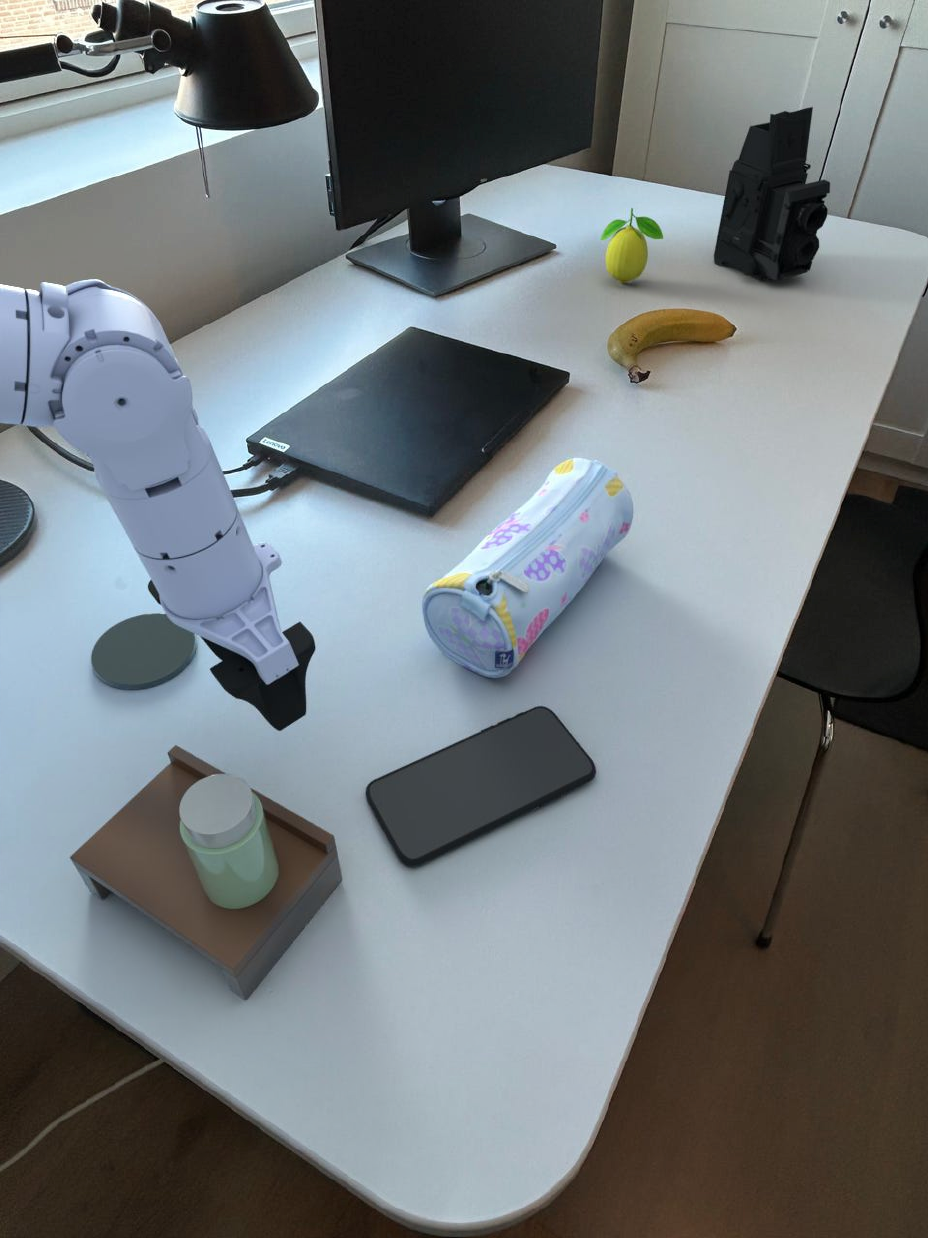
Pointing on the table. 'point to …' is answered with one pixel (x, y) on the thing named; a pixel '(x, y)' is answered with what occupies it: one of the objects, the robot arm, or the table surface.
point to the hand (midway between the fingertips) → (261, 684)
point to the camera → (772, 202)
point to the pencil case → (528, 568)
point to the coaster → (142, 652)
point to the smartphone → (478, 784)
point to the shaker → (228, 841)
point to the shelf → (172, 893)
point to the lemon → (629, 247)
